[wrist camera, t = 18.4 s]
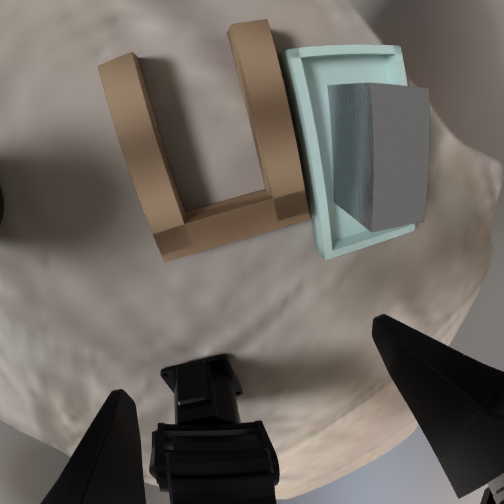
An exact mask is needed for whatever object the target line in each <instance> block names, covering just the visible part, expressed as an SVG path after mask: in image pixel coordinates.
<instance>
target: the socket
mask: <svg viewBox="0 0 504 504" xmlns="http://www.w3.org/2000/svg"><path fill="white" fill-rule="evenodd" d="M227 34H228V38H229V41H230V45H231V49H232V53H233V57H234V60H235V64H236V68H237V72H238V76H239V80H240V84H241V88H242V92H243V96H244V100H245V104H246V108H247V112H248V116H249V120H250V124H251V128H252V133H253V137H254V141H255V145H256V150H257V154H258V158H259V162H260V167H261V171H262V176H263V180H264V184H265V189H264V190H260V191H256V192H253V193H249V194H246V195H242V196H239V197H235V198H232V199H228V200H225V201H221V202H218V203H214V204H211V205H208V206H204V207H201V208H198V209H195V210H191V211H188V212H185V211H184V208H183V205H182V202H181V199H180V196H179V193H178V190H177V187H176V184H175V181H174V178H173V175H172V171H171V168H170V165H169V162H168V159H167V156H166V152H165V149H164V146H163V143H162V139H161V136H160V133H159V130H158V126H157V123H156V119H155V116H154V113H153V109H152V106H151V102H150V99H149V95H148V91H147V88H146V84H145V80H144V77H143V73H142V69H141V65H140V61H139V58H138V57H137V56H136V55H135V54H134V53H132V52H130V53H128V54H125V55H123V56H120V57H118V58H115V59H113V60H110V61H108V62H106V63H104V64H101V65H99V66H98V69H99V73H100V77H101V81H102V85H103V89H104V92H105V96H106V100H107V103H108V107H109V110H110V113H111V117H112V120H113V123H114V127H115V130H116V133H117V136H118V140H119V143H120V146H121V149H122V152H123V155H124V158H125V161H126V164H127V167H128V170H129V172H130V175H131V178H132V181H133V184H134V186H135V189H136V192H137V195H138V197H139V200H140V203H141V205H142V208H143V210H144V213H145V216H146V218H147V221H148V223H149V226H150V228H151V231H152V233H153V236H154V238H155V241H156V243H157V245H158V248H159V250H160V253H161V255H162V257H163V260H164V262H167V261H170V260H174V259H177V258H180V257H184V256H187V255H190V254H193V253H197V252H200V251H203V250H207V249H210V248H214V247H217V246H220V245H224V244H227V243H230V242H234V241H237V240H241V239H244V238H247V237H251V236H254V235H258V234H261V233H264V232H268V231H271V230H275V229H278V228H282V227H285V226H289V225H292V224H296V223H299V222H303V221H306V220H310V219H309V212H308V206H307V200H306V194H305V188H304V182H303V176H302V170H301V165H300V159H299V154H298V149H297V144H296V138H295V133H294V128H293V124H292V119H291V114H290V109H289V105H288V100H287V96H286V91H285V87H284V82H283V78H282V74H281V70H280V66H279V61H278V57H277V53H276V50H275V46H274V42H273V38H272V34H271V30H270V27H269V23H268V20H267V19H265V20H257V21H250V22H243V23H237V24H232V25H231V26H230V28H229V30H228V33H227Z"/></svg>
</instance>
